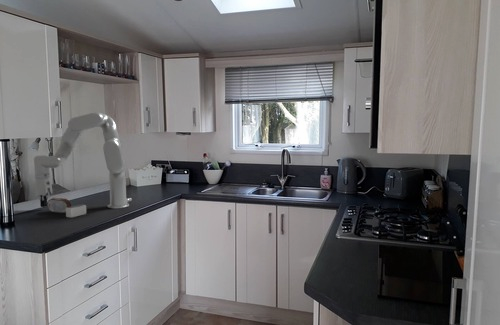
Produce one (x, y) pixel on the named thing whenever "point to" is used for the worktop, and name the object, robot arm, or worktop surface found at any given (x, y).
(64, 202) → the bread slice
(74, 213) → the block
